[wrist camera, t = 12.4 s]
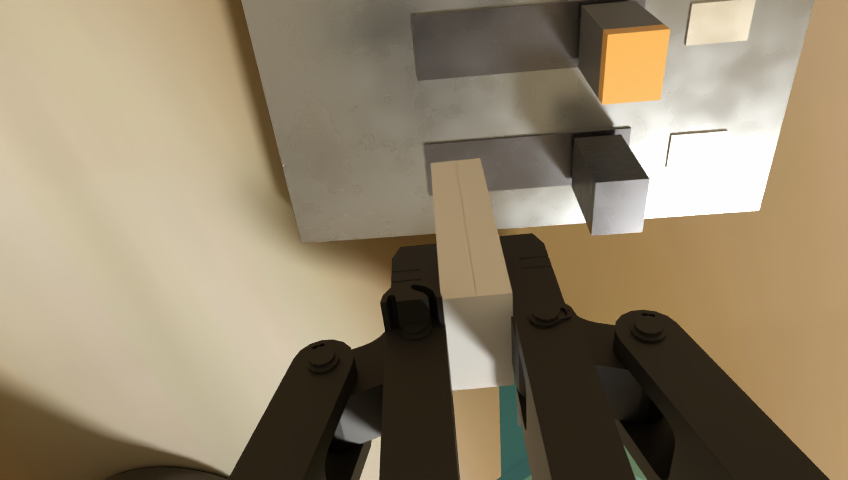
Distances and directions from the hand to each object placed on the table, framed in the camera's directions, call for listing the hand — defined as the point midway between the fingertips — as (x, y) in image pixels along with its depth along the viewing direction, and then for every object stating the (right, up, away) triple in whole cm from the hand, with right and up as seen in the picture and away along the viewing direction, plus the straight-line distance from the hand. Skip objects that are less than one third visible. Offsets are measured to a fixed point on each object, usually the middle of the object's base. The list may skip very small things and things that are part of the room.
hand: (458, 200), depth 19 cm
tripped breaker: (+6, +7, +5) cm, 10 cm away
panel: (+3, +8, +7) cm, 11 cm away
